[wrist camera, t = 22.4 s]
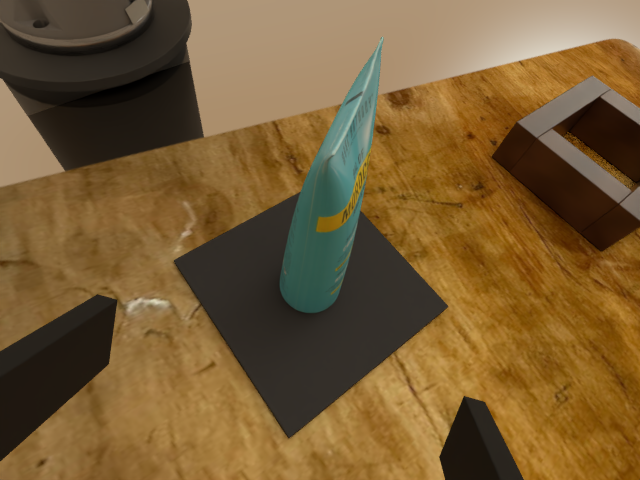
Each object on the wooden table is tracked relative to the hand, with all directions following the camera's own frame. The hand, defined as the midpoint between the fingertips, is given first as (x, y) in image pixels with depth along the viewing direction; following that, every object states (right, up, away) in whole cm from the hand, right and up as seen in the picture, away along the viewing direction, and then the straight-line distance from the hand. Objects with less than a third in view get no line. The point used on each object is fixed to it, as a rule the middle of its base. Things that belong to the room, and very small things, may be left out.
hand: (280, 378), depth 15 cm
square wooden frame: (+30, +12, +28) cm, 43 cm away
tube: (+1, +1, +18) cm, 18 cm away
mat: (+1, +1, +18) cm, 18 cm away
